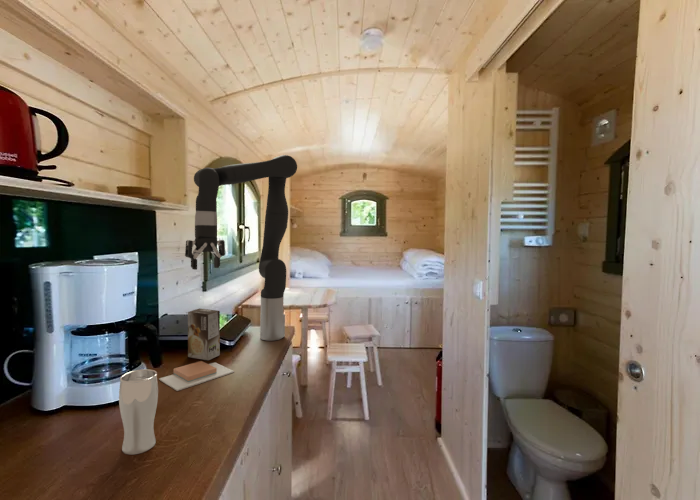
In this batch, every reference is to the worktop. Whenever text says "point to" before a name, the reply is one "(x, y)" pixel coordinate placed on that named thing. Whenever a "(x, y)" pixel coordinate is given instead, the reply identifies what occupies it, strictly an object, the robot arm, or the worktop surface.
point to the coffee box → (203, 334)
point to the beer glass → (138, 409)
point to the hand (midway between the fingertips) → (205, 268)
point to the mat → (180, 383)
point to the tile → (195, 371)
